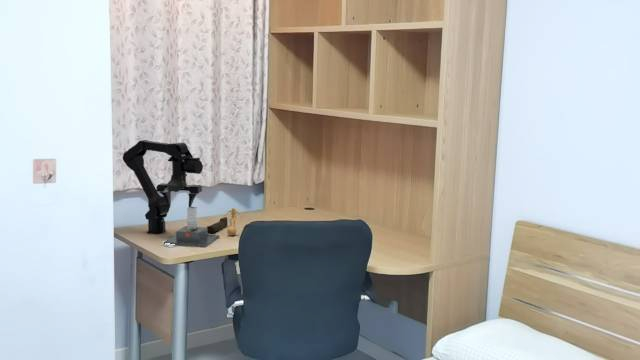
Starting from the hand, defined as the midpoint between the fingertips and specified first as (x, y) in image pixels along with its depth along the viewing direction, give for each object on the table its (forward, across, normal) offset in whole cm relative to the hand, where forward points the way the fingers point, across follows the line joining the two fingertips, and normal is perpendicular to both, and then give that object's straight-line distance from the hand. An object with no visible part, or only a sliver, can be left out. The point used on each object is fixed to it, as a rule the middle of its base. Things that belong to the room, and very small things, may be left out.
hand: (179, 207), depth 306 cm
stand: (+12, +9, -9) cm, 17 cm away
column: (+7, +9, -9) cm, 14 cm away
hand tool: (+12, +12, +15) cm, 23 cm away
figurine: (+12, +22, +6) cm, 26 cm away
